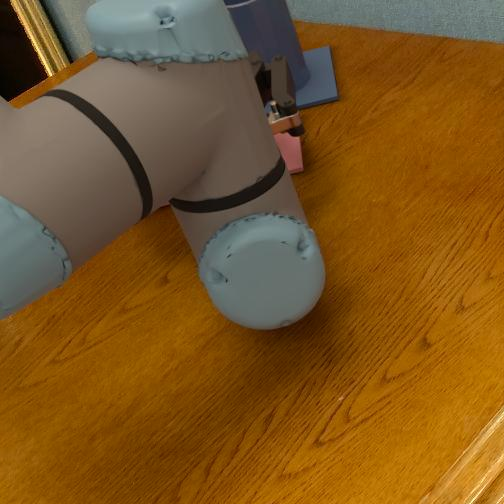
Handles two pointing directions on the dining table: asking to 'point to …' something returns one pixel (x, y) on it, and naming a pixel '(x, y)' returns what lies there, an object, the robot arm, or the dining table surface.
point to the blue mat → (316, 80)
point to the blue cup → (270, 33)
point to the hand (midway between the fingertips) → (184, 66)
